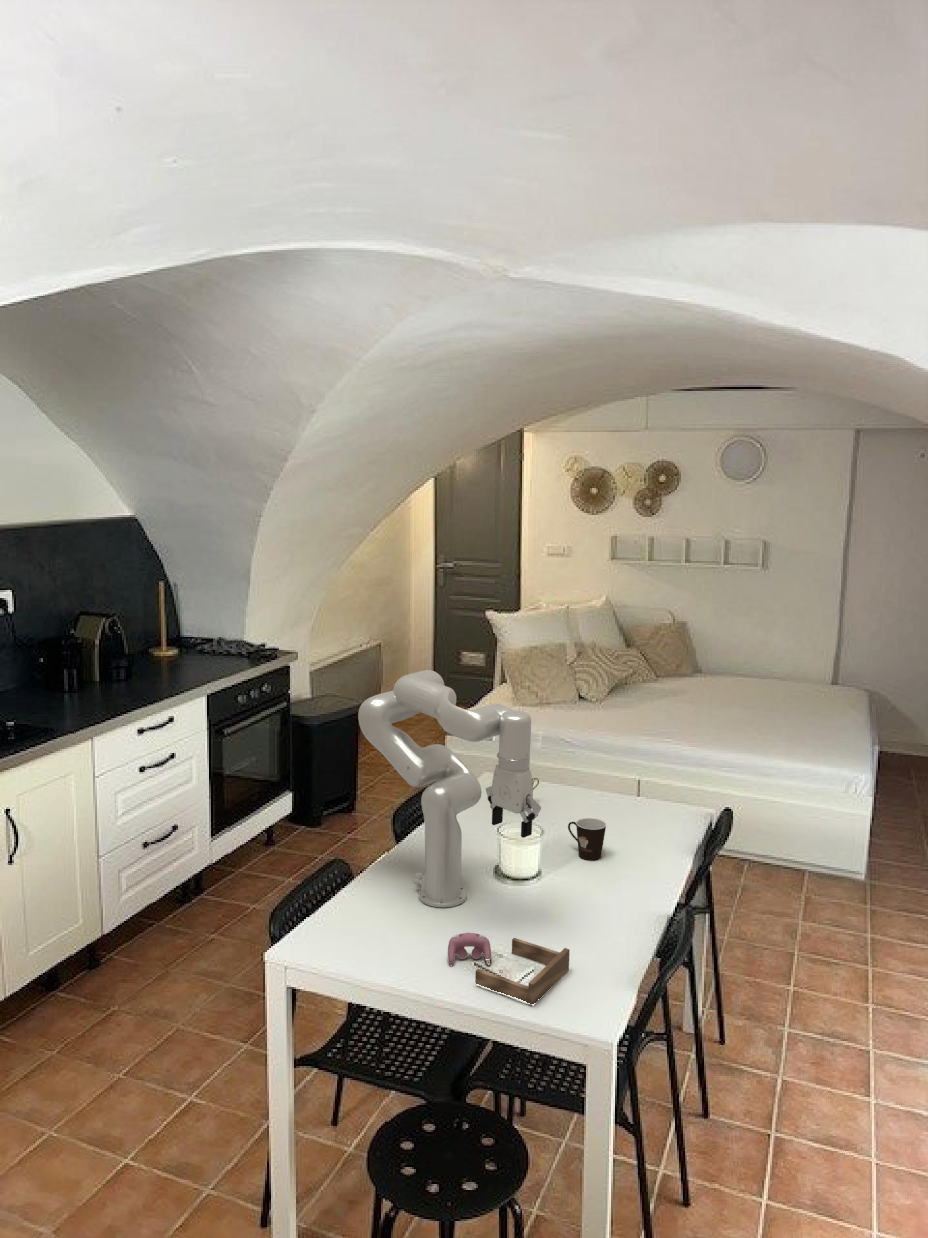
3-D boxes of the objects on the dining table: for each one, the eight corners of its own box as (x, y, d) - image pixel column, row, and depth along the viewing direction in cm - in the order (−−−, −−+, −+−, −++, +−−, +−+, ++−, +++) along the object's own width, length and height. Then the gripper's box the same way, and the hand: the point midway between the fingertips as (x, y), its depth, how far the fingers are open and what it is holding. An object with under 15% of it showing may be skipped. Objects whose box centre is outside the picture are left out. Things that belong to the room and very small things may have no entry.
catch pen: (475, 985, 199) (475, 964, 198) (513, 951, 213) (514, 931, 212) (532, 1006, 191) (533, 984, 190) (568, 970, 205) (569, 949, 205)
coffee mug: (610, 860, 264) (611, 827, 262) (584, 864, 260) (585, 831, 259) (590, 844, 274) (591, 813, 273) (564, 848, 271) (565, 816, 269)
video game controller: (490, 964, 210) (490, 932, 212) (491, 966, 206) (491, 933, 208) (447, 965, 210) (447, 932, 212) (448, 966, 206) (447, 933, 208)
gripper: (477, 756, 223) (475, 823, 226) (530, 775, 211) (527, 845, 214) (498, 750, 228) (496, 815, 231) (551, 768, 216) (548, 837, 219)
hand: (511, 829), depth 223 cm, fingers open, 9 cm apart
